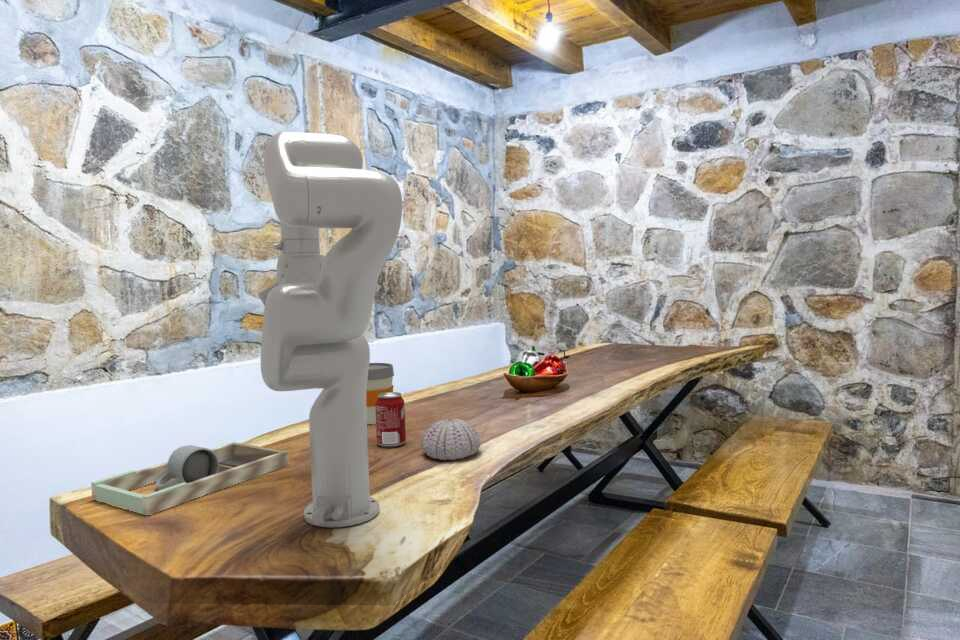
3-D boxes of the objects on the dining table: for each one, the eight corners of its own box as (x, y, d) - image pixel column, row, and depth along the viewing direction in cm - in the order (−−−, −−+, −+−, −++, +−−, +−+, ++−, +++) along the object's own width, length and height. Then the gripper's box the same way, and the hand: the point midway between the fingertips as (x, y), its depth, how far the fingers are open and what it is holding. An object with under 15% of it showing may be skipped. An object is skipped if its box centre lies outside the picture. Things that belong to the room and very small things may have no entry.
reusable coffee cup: (340, 421, 180) (337, 366, 178) (378, 413, 188) (376, 361, 187) (366, 428, 171) (363, 371, 169) (404, 420, 179) (402, 365, 178)
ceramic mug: (202, 474, 136) (199, 437, 135) (221, 482, 131) (218, 444, 130) (149, 489, 128) (145, 450, 127) (166, 498, 123) (163, 458, 122)
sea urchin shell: (427, 466, 138) (426, 429, 137) (416, 449, 151) (415, 415, 150) (488, 460, 141) (487, 423, 141) (472, 443, 154) (471, 410, 154)
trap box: (147, 516, 113) (146, 499, 113) (92, 500, 122) (91, 484, 122) (288, 465, 141) (287, 451, 140) (235, 455, 149) (234, 442, 149)
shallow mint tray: (147, 516, 113) (146, 497, 113) (92, 500, 122) (91, 482, 122) (189, 501, 120) (187, 483, 120) (133, 487, 129) (132, 470, 128)
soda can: (400, 449, 151) (398, 397, 150) (372, 448, 152) (370, 397, 151) (409, 441, 158) (407, 391, 157) (382, 440, 159) (380, 391, 158)
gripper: (258, 249, 127) (262, 337, 129) (347, 248, 134) (350, 331, 136) (253, 249, 133) (258, 332, 135) (338, 247, 141) (341, 327, 143)
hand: (304, 331), depth 136 cm, fingers open, 9 cm apart
